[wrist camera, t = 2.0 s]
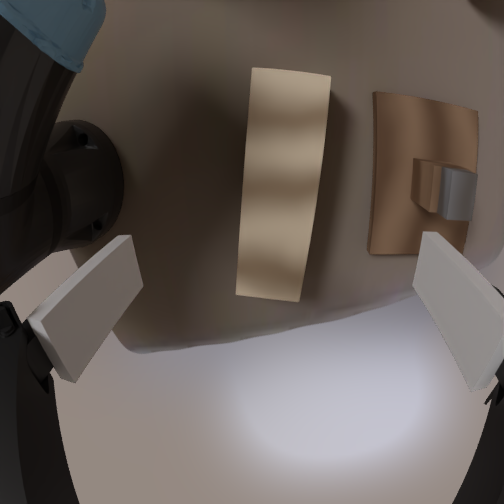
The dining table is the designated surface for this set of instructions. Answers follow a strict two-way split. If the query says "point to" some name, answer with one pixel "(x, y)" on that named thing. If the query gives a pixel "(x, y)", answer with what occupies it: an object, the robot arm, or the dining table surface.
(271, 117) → the beech bar
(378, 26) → the dining table surface
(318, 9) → the dining table surface
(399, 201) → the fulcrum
